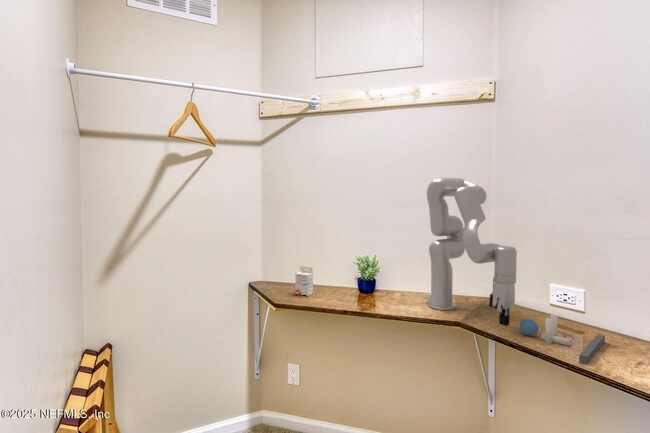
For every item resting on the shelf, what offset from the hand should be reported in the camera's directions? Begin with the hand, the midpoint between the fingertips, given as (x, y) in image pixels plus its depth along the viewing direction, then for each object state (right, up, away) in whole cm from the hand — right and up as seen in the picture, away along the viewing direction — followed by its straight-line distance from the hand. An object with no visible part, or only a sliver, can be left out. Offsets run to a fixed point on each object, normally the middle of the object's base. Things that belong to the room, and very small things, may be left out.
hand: (504, 324), depth 136 cm
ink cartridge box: (-81, 0, +50) cm, 95 cm away
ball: (+6, +1, -7) cm, 9 cm away
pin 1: (+9, -2, -14) cm, 16 cm away
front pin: (+8, -1, -10) cm, 13 cm away
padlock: (+10, 0, +26) cm, 28 cm away
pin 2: (+12, -2, -10) cm, 16 cm away
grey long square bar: (+18, -3, -21) cm, 28 cm away
